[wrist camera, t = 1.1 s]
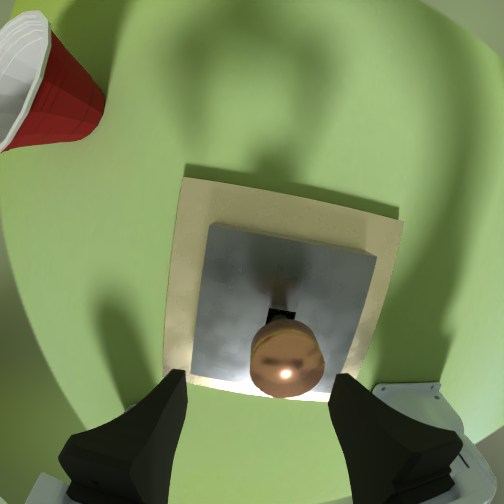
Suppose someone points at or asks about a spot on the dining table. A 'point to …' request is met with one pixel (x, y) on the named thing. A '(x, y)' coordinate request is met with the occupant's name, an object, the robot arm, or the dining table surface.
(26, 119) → the plastic cup
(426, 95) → the dining table surface
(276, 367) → the plunger
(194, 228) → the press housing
